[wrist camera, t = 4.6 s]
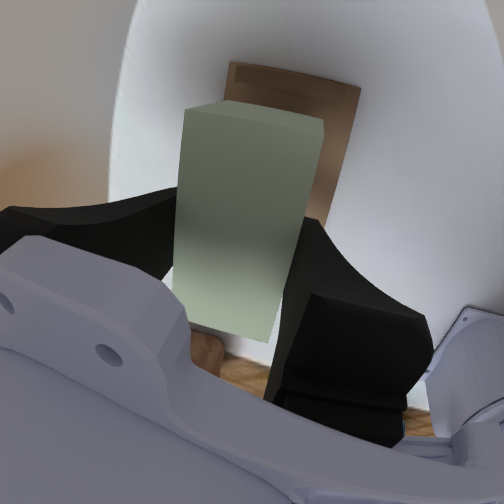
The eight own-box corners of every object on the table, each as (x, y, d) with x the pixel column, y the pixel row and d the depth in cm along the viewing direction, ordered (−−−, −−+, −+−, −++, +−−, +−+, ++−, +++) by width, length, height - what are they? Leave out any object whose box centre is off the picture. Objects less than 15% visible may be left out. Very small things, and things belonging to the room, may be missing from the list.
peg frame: (314, 254, 23) (313, 274, 21) (209, 227, 24) (196, 243, 22) (360, 88, 17) (365, 88, 14) (232, 61, 17) (220, 59, 15)
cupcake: (226, 381, 33) (199, 460, 25) (153, 350, 33) (113, 421, 25) (253, 333, 28) (224, 427, 20) (165, 294, 28) (111, 377, 20)
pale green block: (282, 279, 16) (267, 343, 12) (206, 259, 16) (172, 316, 13) (323, 119, 12) (324, 136, 8) (227, 100, 12) (185, 109, 8)
